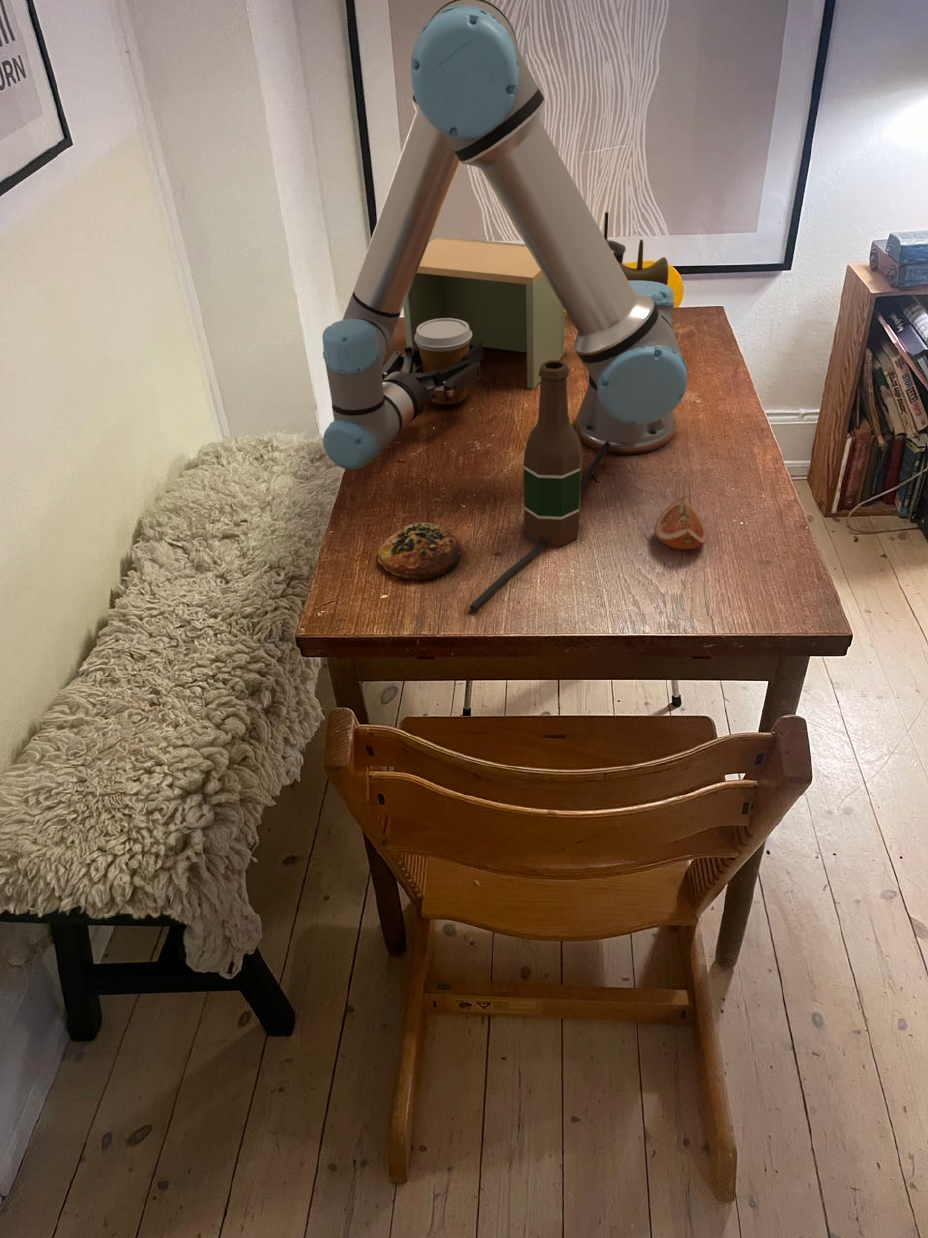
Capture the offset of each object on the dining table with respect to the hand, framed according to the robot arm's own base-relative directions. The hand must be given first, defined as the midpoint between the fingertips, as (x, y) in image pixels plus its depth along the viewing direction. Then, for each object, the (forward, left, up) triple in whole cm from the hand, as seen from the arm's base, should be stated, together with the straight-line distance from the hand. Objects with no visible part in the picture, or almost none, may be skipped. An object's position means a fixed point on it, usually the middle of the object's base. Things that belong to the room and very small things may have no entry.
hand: (456, 346), depth 154 cm
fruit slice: (-41, -41, -8) cm, 58 cm away
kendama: (+20, -28, -8) cm, 35 cm away
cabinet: (+11, -2, -8) cm, 14 cm away
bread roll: (-50, -8, -8) cm, 51 cm away
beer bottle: (-41, -24, -8) cm, 48 cm away
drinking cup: (+35, -20, -8) cm, 41 cm away
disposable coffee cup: (-5, +1, -7) cm, 9 cm away
